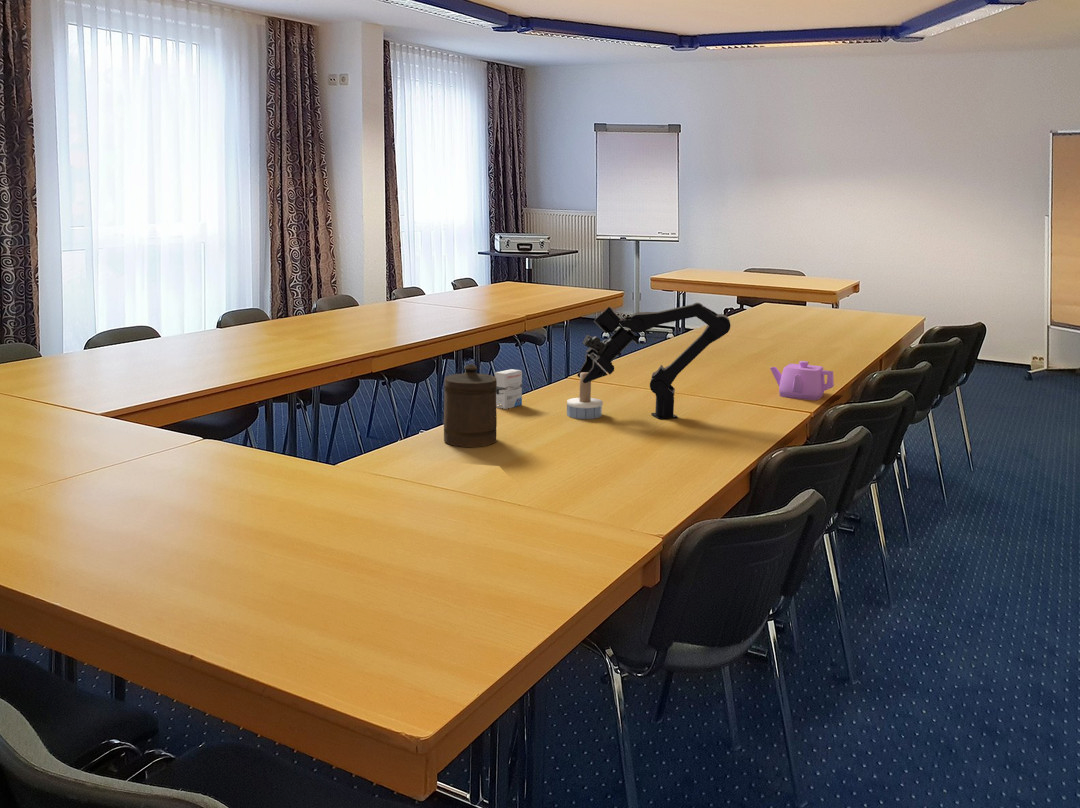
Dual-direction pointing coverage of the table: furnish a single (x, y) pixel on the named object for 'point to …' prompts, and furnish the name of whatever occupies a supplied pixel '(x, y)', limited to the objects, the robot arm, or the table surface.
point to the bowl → (584, 412)
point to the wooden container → (470, 409)
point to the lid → (584, 396)
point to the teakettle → (803, 381)
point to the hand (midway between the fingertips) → (580, 379)
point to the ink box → (509, 388)
